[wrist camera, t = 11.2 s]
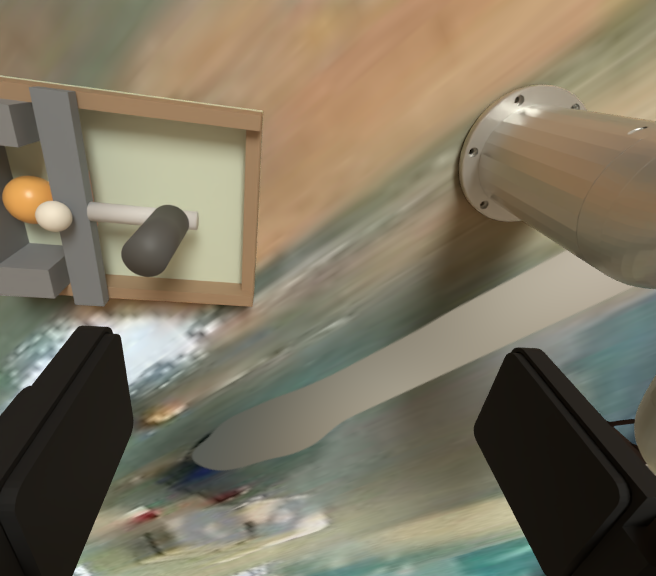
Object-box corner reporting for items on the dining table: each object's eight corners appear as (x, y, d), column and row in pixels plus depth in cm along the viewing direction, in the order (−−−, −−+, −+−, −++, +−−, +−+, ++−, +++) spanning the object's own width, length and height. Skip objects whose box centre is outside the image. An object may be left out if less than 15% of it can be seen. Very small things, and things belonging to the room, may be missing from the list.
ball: (17, 167, 33) (66, 173, 34) (28, 212, 35) (74, 217, 36) (-17, 179, 30) (38, 185, 30) (-3, 228, 32) (49, 233, 32)
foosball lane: (263, 110, 34) (259, 119, 29) (254, 289, 43) (250, 320, 37) (-20, 72, 31) (-82, 74, 25) (33, 274, 39) (-5, 306, 34)
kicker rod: (201, 104, 32) (166, 120, 23) (205, 292, 41) (181, 360, 31) (45, 83, 30) (-63, 91, 21) (84, 285, 39) (21, 354, 30)
